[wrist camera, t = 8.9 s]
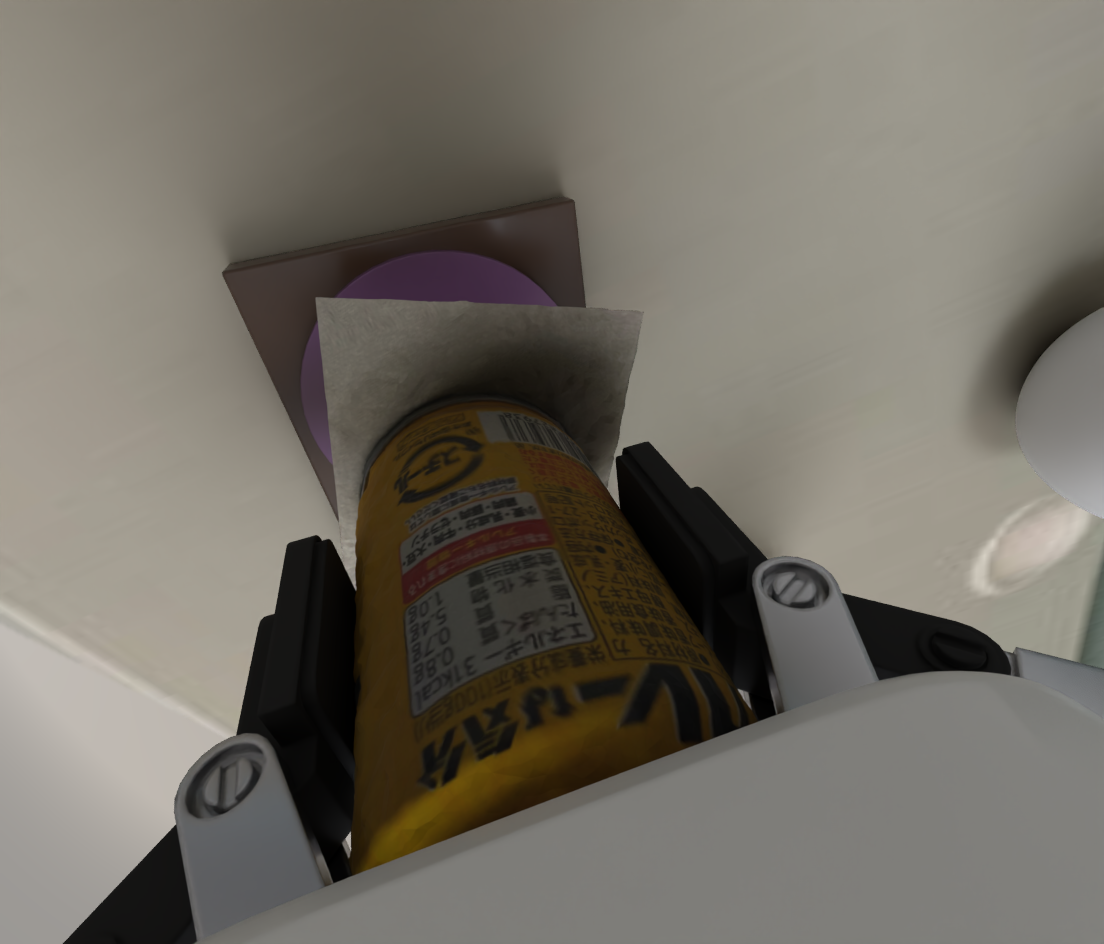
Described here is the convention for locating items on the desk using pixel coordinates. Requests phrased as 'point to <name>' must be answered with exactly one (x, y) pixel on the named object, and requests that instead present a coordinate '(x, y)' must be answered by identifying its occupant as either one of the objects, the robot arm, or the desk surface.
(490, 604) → the condiment
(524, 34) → the desk surface
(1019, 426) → the ornament
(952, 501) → the desk surface
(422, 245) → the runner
